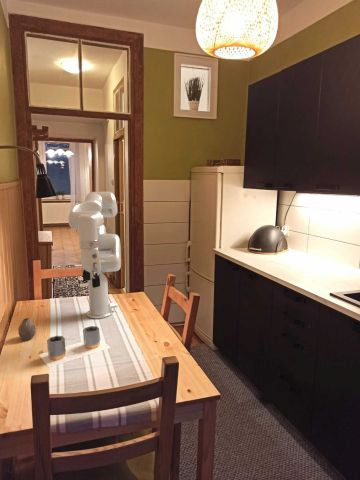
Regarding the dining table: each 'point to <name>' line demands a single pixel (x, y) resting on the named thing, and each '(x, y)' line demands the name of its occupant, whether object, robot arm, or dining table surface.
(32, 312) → the dining table surface
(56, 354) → the seated sleeve
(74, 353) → the pin board
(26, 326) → the vase
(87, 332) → the loose sleeve
